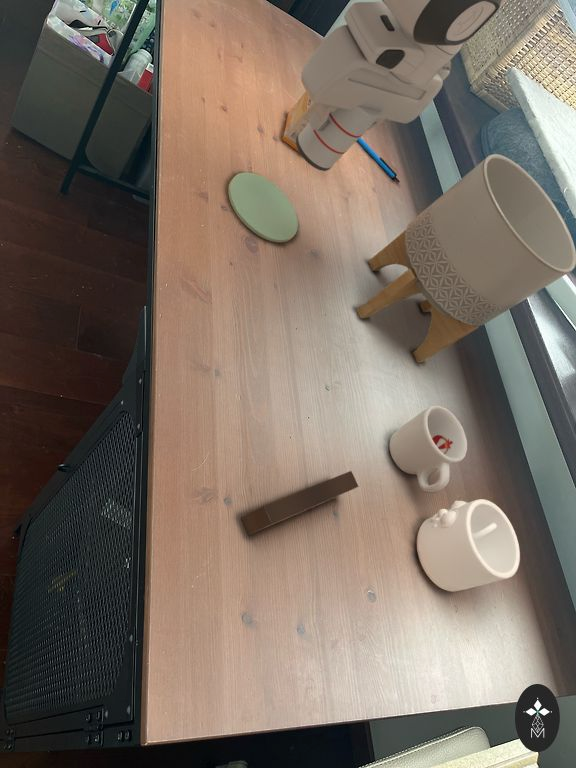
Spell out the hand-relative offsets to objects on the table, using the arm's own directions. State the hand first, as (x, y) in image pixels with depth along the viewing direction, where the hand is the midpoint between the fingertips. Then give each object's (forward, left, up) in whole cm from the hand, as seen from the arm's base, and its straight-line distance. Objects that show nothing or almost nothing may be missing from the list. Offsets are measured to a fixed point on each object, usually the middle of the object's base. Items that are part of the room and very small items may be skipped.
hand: (333, 130), depth 80 cm
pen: (+35, +16, -16) cm, 42 cm away
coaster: (0, 0, -16) cm, 16 cm away
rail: (-18, -42, -16) cm, 48 cm away
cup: (+4, -42, -16) cm, 45 cm away
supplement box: (+16, +16, -16) cm, 28 cm away
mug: (+3, -54, -16) cm, 57 cm away
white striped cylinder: (0, -4, -3) cm, 5 cm away
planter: (+19, -19, -16) cm, 31 cm away
